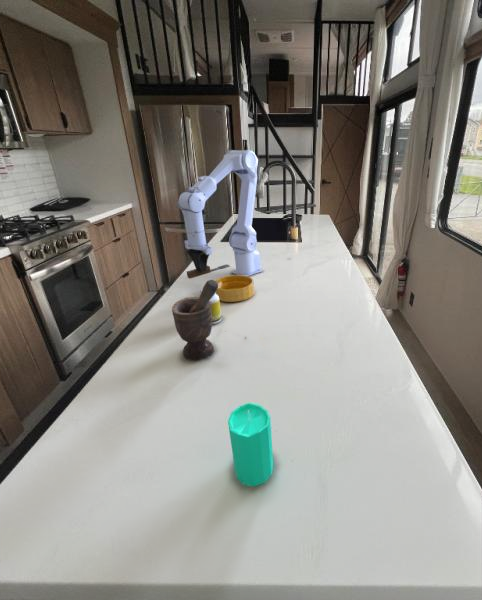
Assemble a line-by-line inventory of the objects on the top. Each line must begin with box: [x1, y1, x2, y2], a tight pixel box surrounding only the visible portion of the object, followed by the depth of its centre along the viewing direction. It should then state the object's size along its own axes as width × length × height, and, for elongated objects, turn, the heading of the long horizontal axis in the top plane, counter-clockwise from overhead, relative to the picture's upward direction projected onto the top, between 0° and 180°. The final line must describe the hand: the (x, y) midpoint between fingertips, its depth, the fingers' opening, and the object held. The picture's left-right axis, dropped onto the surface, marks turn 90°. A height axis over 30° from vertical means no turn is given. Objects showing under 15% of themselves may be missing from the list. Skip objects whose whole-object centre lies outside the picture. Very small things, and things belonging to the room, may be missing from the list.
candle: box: [227, 402, 274, 487], centre depth 48 cm, size 6×6×12 cm
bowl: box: [215, 274, 255, 303], centre depth 108 cm, size 13×13×4 cm
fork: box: [186, 263, 231, 279], centre depth 113 cm, size 16×2×2 cm, turn 134°
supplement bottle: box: [200, 287, 223, 325], centre depth 92 cm, size 5×5×10 cm
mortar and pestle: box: [171, 279, 218, 362], centre depth 75 cm, size 12×9×20 cm
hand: (201, 270), depth 111 cm, fingers closed on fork, 1 cm apart
